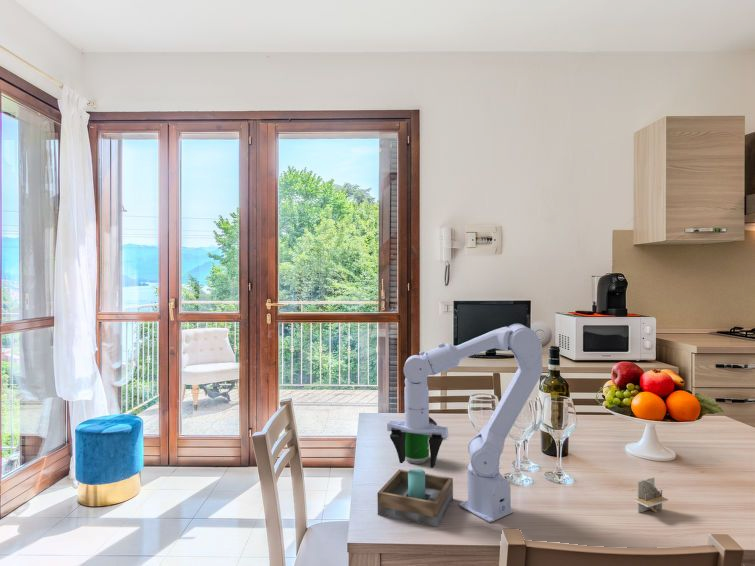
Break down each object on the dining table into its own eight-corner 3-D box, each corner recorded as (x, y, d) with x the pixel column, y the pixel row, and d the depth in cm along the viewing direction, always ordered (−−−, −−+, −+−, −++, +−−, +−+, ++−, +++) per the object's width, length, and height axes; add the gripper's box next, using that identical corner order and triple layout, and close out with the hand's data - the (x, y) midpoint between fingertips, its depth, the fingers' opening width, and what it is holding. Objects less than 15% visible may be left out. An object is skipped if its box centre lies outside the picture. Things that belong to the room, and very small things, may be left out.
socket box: (452, 498, 114) (452, 478, 114) (437, 526, 101) (436, 503, 101) (399, 488, 119) (399, 469, 119) (377, 514, 106) (377, 492, 106)
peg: (428, 506, 110) (428, 472, 110) (416, 512, 107) (415, 477, 107) (417, 500, 113) (417, 467, 113) (404, 505, 111) (404, 471, 111)
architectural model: (668, 515, 105) (668, 482, 105) (648, 522, 102) (647, 488, 102) (654, 508, 108) (654, 476, 108) (633, 515, 105) (633, 482, 105)
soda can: (427, 465, 134) (427, 424, 134) (402, 463, 136) (401, 422, 135) (430, 455, 141) (429, 416, 141) (405, 454, 143) (405, 415, 143)
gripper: (450, 405, 111) (451, 461, 111) (394, 399, 117) (394, 453, 117) (443, 413, 105) (443, 473, 105) (383, 407, 110) (384, 464, 110)
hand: (417, 463), depth 110 cm, fingers open, 7 cm apart
